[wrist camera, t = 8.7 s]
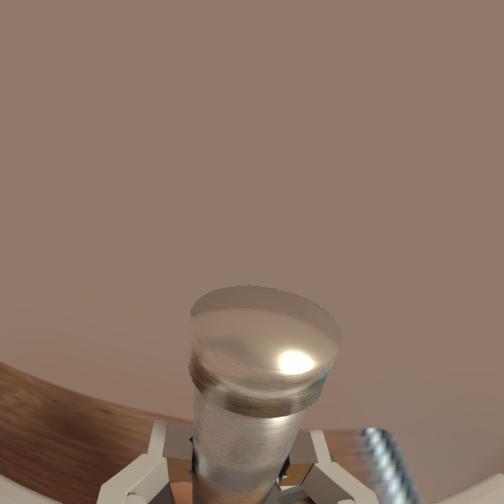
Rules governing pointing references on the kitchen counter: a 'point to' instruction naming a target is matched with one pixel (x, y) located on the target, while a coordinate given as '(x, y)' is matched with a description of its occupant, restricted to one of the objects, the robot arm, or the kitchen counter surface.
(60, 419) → the kitchen counter surface
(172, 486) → the socket board
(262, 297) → the metal plug
